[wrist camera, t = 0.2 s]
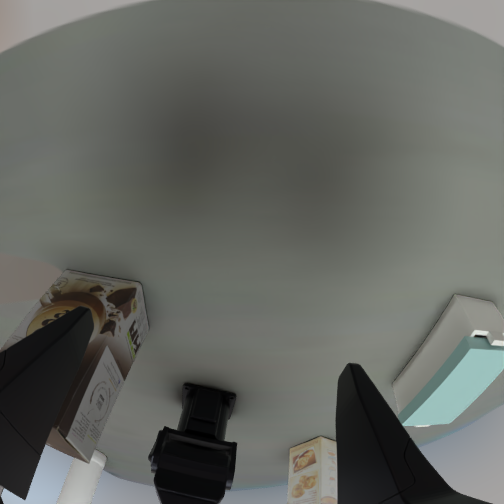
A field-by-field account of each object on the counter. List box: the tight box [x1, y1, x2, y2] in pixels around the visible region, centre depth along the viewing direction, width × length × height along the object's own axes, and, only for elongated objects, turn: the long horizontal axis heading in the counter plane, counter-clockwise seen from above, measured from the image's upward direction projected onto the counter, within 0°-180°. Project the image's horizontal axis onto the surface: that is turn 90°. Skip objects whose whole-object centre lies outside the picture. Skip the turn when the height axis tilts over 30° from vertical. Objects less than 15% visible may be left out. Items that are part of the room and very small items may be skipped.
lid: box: [398, 336, 504, 426], centre depth 24 cm, size 12×7×2 cm, turn 170°
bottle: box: [57, 449, 107, 504], centre depth 46 cm, size 8×8×30 cm
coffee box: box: [0, 270, 149, 464], centre depth 22 cm, size 9×6×16 cm
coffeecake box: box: [287, 436, 337, 504], centre depth 35 cm, size 15×7×20 cm, turn 52°
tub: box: [392, 294, 504, 427], centre depth 26 cm, size 14×6×6 cm, turn 170°
